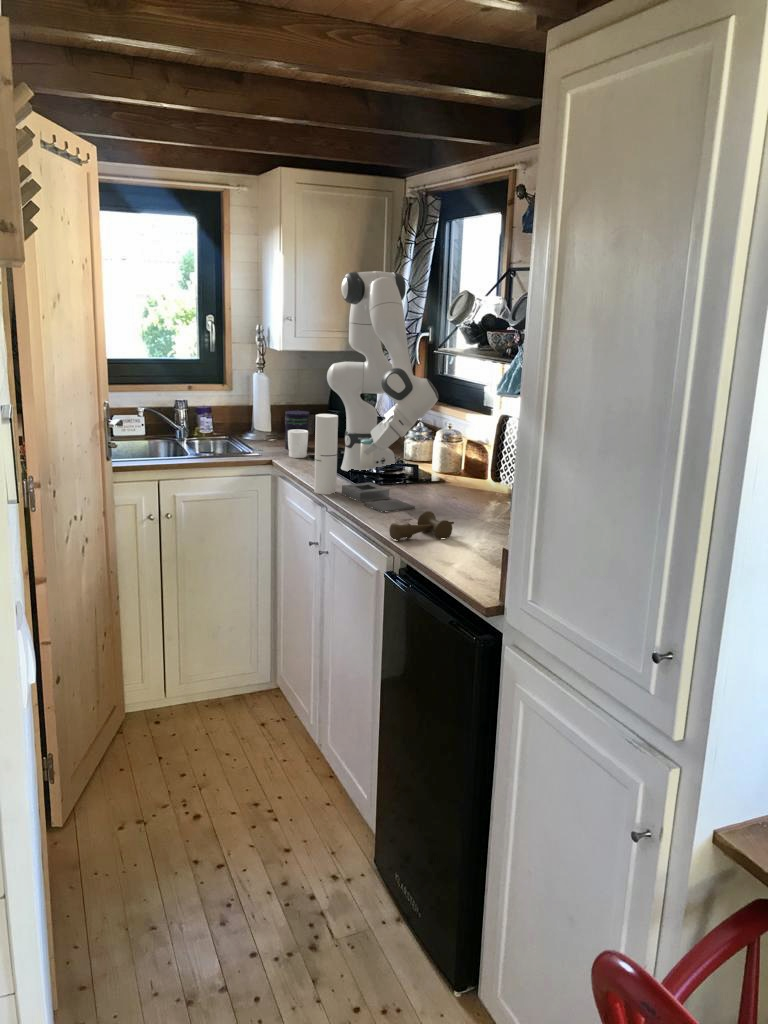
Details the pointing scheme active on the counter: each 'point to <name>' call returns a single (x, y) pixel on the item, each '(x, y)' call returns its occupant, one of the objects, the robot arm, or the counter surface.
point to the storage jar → (296, 423)
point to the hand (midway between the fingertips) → (364, 451)
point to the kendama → (422, 527)
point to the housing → (365, 491)
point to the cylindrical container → (326, 453)
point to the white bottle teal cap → (365, 460)
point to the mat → (390, 505)
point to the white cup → (297, 443)
